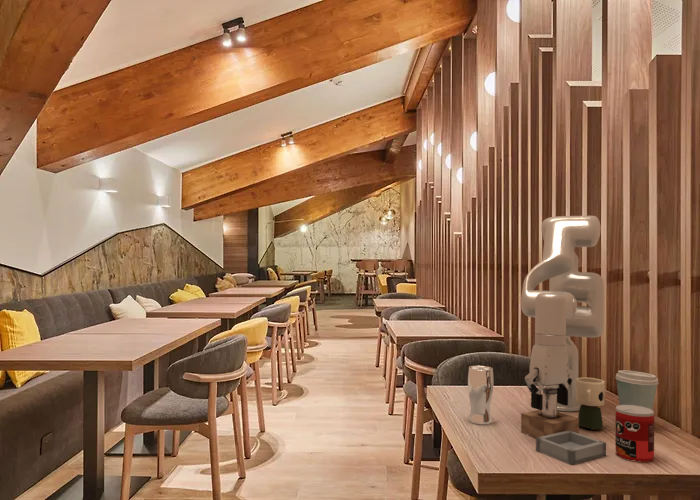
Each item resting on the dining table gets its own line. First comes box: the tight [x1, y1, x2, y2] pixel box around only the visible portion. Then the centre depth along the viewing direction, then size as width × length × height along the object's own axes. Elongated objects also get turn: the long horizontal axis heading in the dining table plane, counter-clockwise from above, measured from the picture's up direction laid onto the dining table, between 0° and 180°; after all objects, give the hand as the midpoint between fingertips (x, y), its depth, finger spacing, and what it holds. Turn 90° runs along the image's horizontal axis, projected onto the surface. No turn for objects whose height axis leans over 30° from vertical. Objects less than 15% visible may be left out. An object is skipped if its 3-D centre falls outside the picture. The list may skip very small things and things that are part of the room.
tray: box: [535, 430, 607, 466], centre depth 124 cm, size 12×10×3 cm
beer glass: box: [467, 365, 494, 426], centre depth 147 cm, size 7×7×15 cm
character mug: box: [576, 376, 606, 430], centre depth 143 cm, size 11×7×13 cm, turn 150°
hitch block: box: [520, 409, 580, 439], centre depth 136 cm, size 10×10×5 cm
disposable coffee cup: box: [615, 369, 659, 410], centre depth 145 cm, size 11×11×15 cm
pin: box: [542, 386, 558, 420], centre depth 136 cm, size 4×4×12 cm
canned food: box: [614, 404, 655, 463], centre depth 122 cm, size 8×8×11 cm
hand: (549, 406), depth 136 cm, fingers open, 9 cm apart
